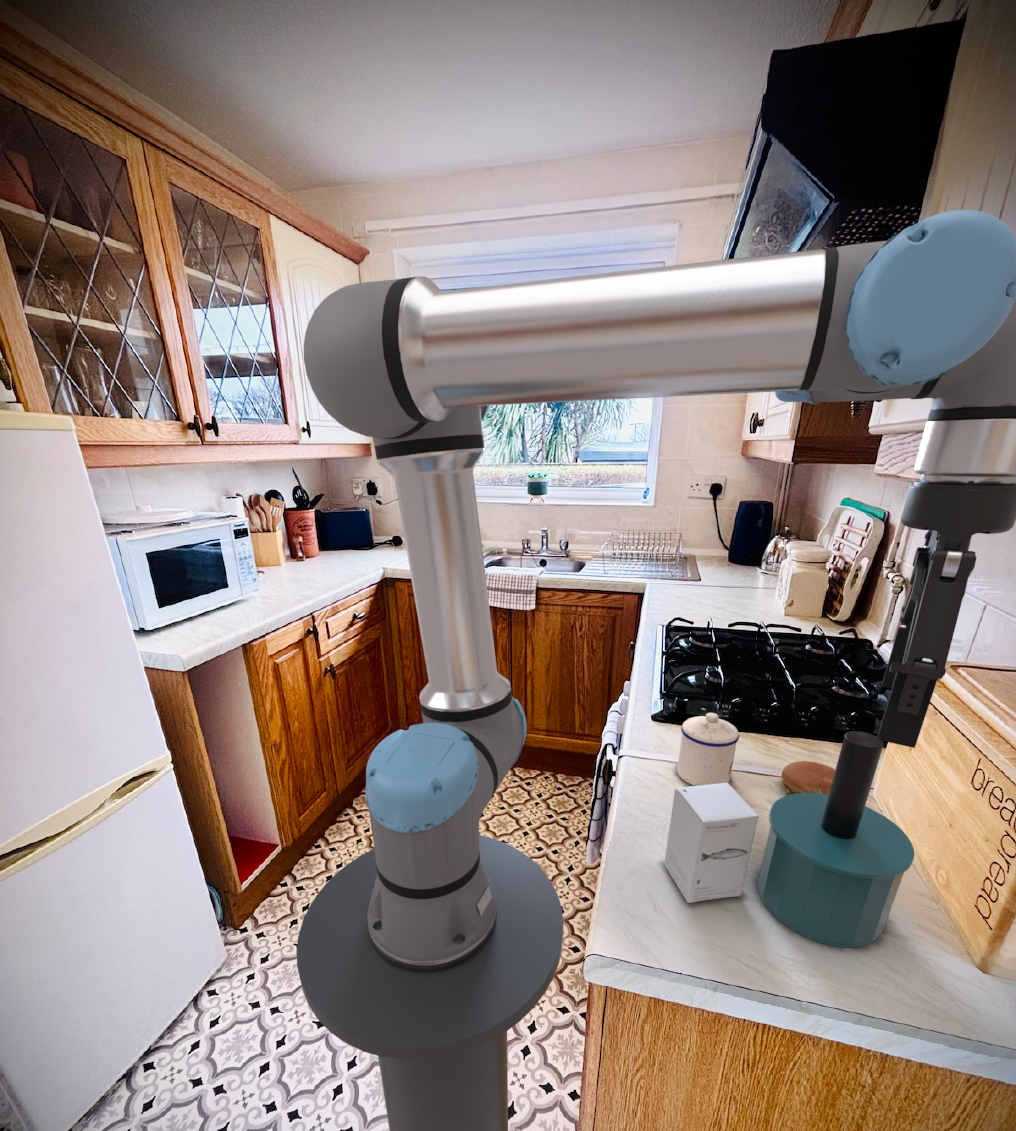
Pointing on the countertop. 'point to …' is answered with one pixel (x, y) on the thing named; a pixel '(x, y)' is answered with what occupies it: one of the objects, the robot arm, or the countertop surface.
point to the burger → (807, 777)
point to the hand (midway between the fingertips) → (896, 712)
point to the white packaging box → (709, 841)
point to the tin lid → (845, 819)
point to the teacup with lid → (707, 750)
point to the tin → (823, 898)
